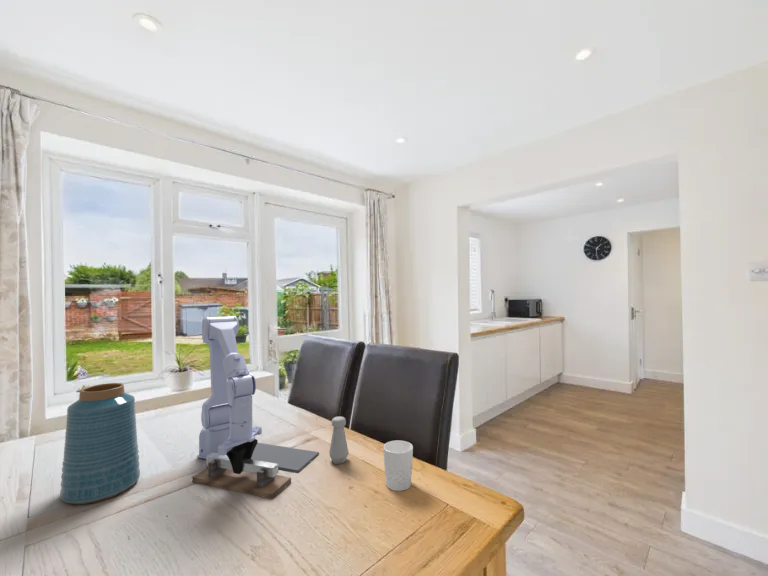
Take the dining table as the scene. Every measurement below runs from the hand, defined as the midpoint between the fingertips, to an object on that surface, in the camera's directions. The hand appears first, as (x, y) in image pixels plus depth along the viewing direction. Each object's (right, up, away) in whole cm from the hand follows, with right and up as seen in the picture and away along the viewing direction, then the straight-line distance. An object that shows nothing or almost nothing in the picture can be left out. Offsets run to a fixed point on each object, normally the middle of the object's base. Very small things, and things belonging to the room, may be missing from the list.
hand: (241, 470), depth 95 cm
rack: (0, -3, 0) cm, 3 cm away
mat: (+5, -3, +14) cm, 15 cm away
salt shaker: (+25, -3, +12) cm, 28 cm away
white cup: (+43, -3, -2) cm, 43 cm away
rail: (0, 0, 0) cm, 0 cm away
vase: (-36, -4, -3) cm, 36 cm away
